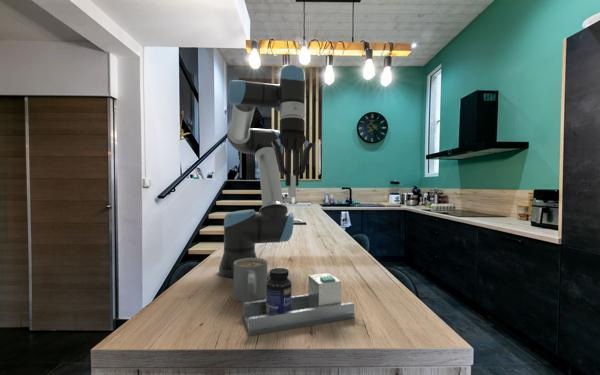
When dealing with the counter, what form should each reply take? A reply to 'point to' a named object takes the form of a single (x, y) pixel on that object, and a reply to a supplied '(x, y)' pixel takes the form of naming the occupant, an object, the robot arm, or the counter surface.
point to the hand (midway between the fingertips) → (291, 197)
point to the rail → (301, 308)
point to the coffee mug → (250, 279)
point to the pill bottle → (278, 291)
